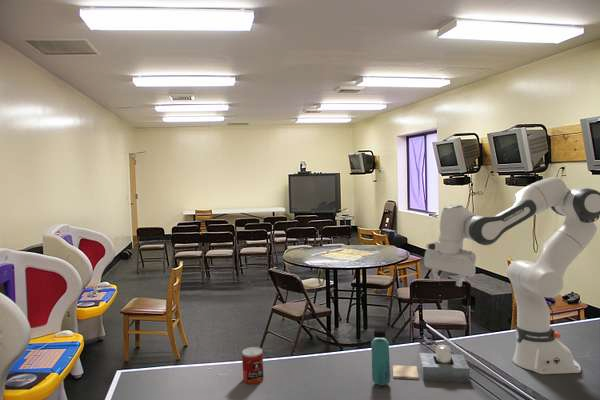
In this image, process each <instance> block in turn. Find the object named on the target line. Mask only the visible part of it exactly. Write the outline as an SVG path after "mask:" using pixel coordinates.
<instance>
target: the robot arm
mask: <svg viewBox="0 0 600 400" xmlns="http://www.w3.org/2000/svg"><path fill="white" fill-rule="evenodd" d="M550 208H551V210H552V211H553V212H554V213H555V214H557V215H560V216H561V217H562V216H564V217H565V218H564V221H563V223H562V225H561V226H560V227H558V229H557V230H556V231H554V233H553V234H552V235H551V236H550V237H549V238H548V239H547V240H546V241H545V242H544V243H543V244H542V245H541V254H540V255H539V258H538V259H537V261H535V262H533V261H530V260H526V259H517V260H514V261H512V262H510V263H509V265H507V266H508V267H507V269H506V274H507V275H506V277H507V278H508V279H509V281H510V282H511V287H512V291H513V294H514V297H515V298H514V299H515V303H516V313H517V314H516V317H517V319H516V320H517V321H516V323H517V324H516V325H515V340H516V344H515V351H514V355H513V357H512V361H513V363H514V364H515V365H517V367H520V368H523V369H524V370H525V369H526V370H528V371H533V372H535V373H537V374H540V375H555V374H557V375H558V374H559V375H560V374H561V375H562V374H578V373H582V368H581V366H580V364H579V363H578V362H577V361H576V360H575V359H574V356H573V354H572V351H571V349H569V348H568V347H567V346H566V345H565V344H564V343H563V342H561V341H559V339H560V338H561V333H560V332H558V331H556V330H554V329H553V328H551V309H550V306H549V305H548V303H547V301H546V298H549V299H550V298H554V297H557V296H558V295H559V294H561V292H562V291H563V289H564V280H563V278H564V276H565V273H566V271H567V269H568V267H569V266H570V265H571V263H573V262H574V260H575V259H576V258H577V257H578V256H579V255H580V254H581V253H582V252H583V251H584V250H585V249H586V247H587V246H588V245H589V244H590V243H591V241H592V240H593V238H594V237H595V235H596V234H597V230H598V229H597V225H596V224H595V222H596V221H598V220H599V219H600V191H598V190H596V189H593V188H589V187H588V188H583V187H574V188H568V187H567V184H566V183H565V182H564V180H563V179H561V178H559V177H556V176H552V177H546V178H544V179H540V180H537V181H535V182H533V183H530V184H528V185H526V186H524V187H522V188H521V189H520V190H518V191H517V192H515V193H514V195H513V197H512V206H511V207H509V208H507V209H506V210H504V211H501V212H500V213H498V214H496V215H493V216H482V215H478V214H476V213H473V212H471V211H470V210H468V209H467V208H465V207H464V205H459V204H457V205H456V204H453V205H447V206H445V207H443V209H442V210H441V213H440V214H441V215H440V221H439V235H438V241H435V242H429V243H426V249H427V250H425V252H424V258H423V264H424V266H425V268H428V269H429V268H430V269H431V273H432V275H433V281H436V282H440V280H441V277H440V275H439V273H438V271H442V272H443V271H444V272H447V273H451V274H454V275H455V274H456V275H458V277H459V279H458V280H456V281H455V286H457V287H459V288H460V287H462V286H463V282H464V280H465V279H466V277H474V276H475V275H476V254H475V253H474V252H473V251H472V250H466V249H463V247H464V239H469V240H470V241H474V242H475V243H477V244H479V245H481V246H489V245H492V244H494V243H496V242H497V241H498V240H499V239H500V238H501V237H502V236H503V235H504V233H506V232H507V231H510V229H512V228H514V227H516V226H518V225H520V224H521V223H523V222H524V221H526V220H528V219H529V218H531V217H534V216H536V215H538V214H541V213H543V212H545V211H546V210H549V209H550Z"/></svg>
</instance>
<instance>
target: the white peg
mask: <svg viewBox="0 0 600 400" xmlns="http://www.w3.org/2000/svg"><path fill="white" fill-rule="evenodd" d="M451 348H452V347H451V346H450V345H446V344H437V345H436V346H435V354H436V364H448V365H451V354H452V353H451V352H452V349H451Z"/></svg>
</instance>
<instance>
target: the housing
mask: <svg viewBox="0 0 600 400" xmlns="http://www.w3.org/2000/svg"><path fill="white" fill-rule="evenodd" d="M419 368H420V372H421V376H422V380H423V381H432V382H433V381H435V382H436V381H437V382H456V383H470V380H471V378H470V373H471V372H470V367H469V365H468V362H467V360H466V358H465V356H464V354H460V353H459V354H456V353H455V354H454V353H451V365H448V364H436V353H431V352H430V353H428V352H427V353H426V352H419Z"/></svg>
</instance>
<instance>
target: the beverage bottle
mask: <svg viewBox="0 0 600 400" xmlns="http://www.w3.org/2000/svg"><path fill="white" fill-rule="evenodd" d="M373 337H374V338H373V339H372V340H371V341H370V344H371V346H370V347H371V373H372V374H371V375H372V376H371V378H372V381H373V383H374V384H376V385H380V386H381V385H382V386H384V385H387V384H389V383H390V382H391V365H390V364H391V362H390V357H391V356H390V342H389V340H387V339H386V338H385V337H386V330H385V329H384V328H375V329H374V331H373Z"/></svg>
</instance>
